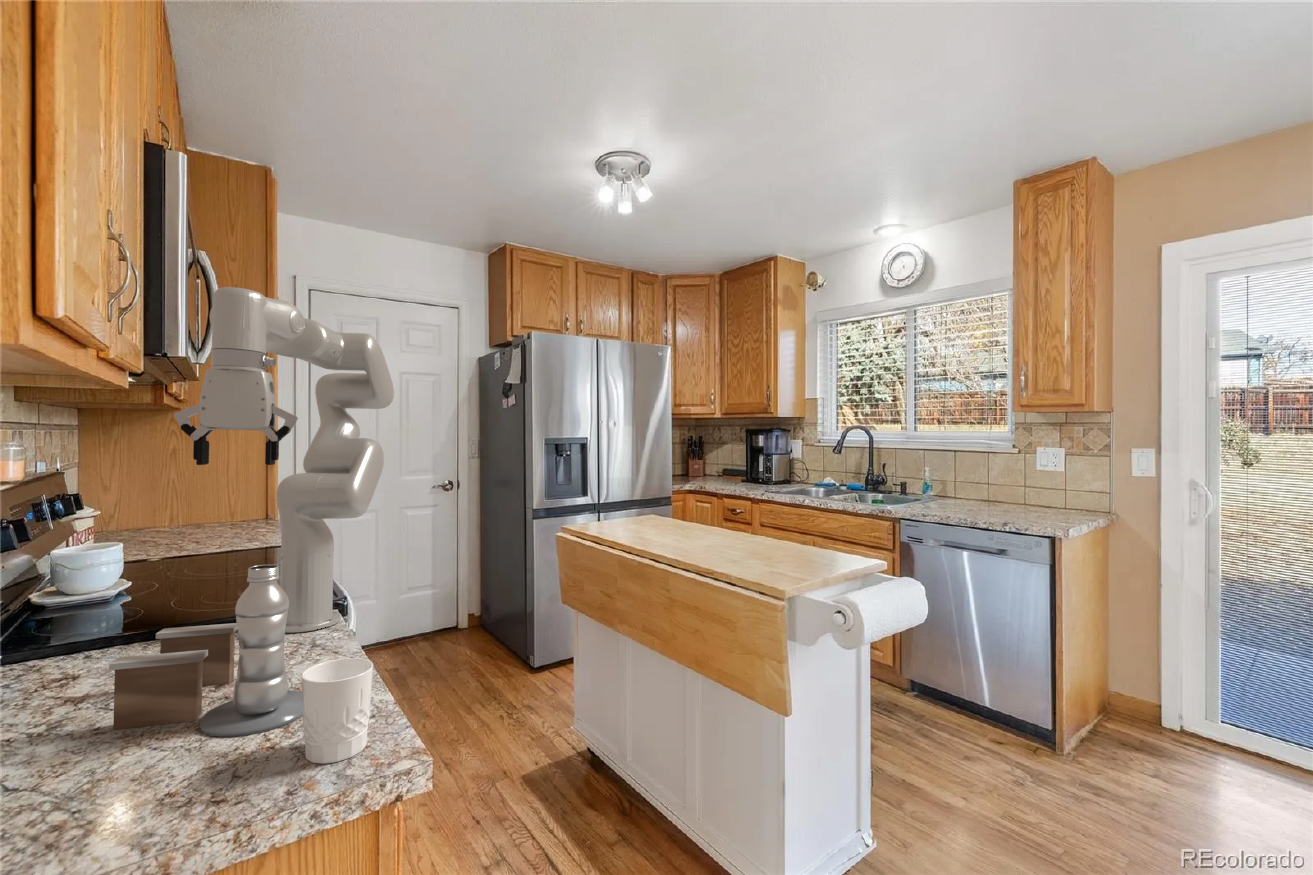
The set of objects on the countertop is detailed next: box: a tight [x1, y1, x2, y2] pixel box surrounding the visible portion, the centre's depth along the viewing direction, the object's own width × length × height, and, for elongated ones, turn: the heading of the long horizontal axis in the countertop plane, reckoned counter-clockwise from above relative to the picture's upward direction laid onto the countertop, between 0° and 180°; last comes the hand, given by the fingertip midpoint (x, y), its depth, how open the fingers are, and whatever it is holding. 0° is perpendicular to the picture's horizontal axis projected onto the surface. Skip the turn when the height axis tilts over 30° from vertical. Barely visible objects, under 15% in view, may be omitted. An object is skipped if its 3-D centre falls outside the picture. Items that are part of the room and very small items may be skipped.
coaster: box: [199, 689, 303, 738], centre depth 82 cm, size 13×13×1 cm
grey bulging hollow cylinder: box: [232, 564, 289, 715], centre depth 82 cm, size 6×7×20 cm
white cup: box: [300, 657, 374, 765], centre depth 73 cm, size 8×8×10 cm
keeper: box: [108, 622, 238, 731], centre depth 86 cm, size 16×10×9 cm, turn 20°
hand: (237, 464), depth 98 cm, fingers open, 9 cm apart
